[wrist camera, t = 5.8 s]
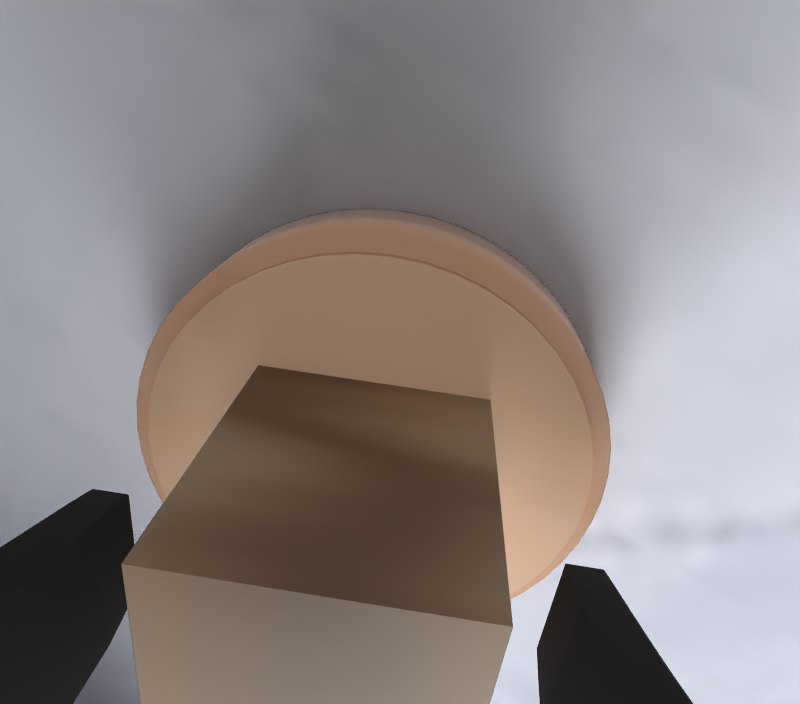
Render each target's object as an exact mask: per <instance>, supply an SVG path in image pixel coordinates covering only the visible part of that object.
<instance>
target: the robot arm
mask: <svg viewBox="0 0 800 704" xmlns="http://www.w3.org/2000/svg"><path fill="white" fill-rule="evenodd" d="M133 546H134V537H133V529H132V520H131V512H130V504H129V495H127V494H121V493H115V492H108V491H102V490H96V489H92V490H90V491H89V492H87V493H85V494H84V495H82V496H80V497H79V498H77V499H75V500H74V501H72V502H71V503H69V504H67V505H66V506H64V507H63V508H61V509H59V510H58V511H56V512H55V513H53V514H52V515H50V516H49V517H47V518H45V519H44V520H42V521H41V522H39V523H38V524H36V525H35V526H33V527H31V528H30V529H28V530H27V531H25V532H24V533H22V534H21V535H19V536H17V537H16V538H14V539H13V540H11V541H10V542H8V543H6V544H5V545H3V546H2V547H0V704H73V702H74V701H75V699H76V698H77V696H78V695H79V693H80V691H81V690H82V688H83V687H84V685H85V683H86V682H87V680H88V679H89V677H90V675H91V674H92V672H93V671H94V669H95V667H96V666H97V664H98V663H99V661H100V659H101V658H102V656H103V654H104V653H105V651H106V650H107V648H108V646H109V645H110V643H111V641H112V639H113V637H114V635H115V633H116V631H117V629H118V627H119V625H120V623H121V621H122V619H123V617H124V614H125V612H126V610H127V602H126V594H125V587H124V580H123V572H122V565H121V564H122V562H123V561H124V560H125V558H126V557H127V555H128V554H129V552H130V551H131V549H132V548H133ZM537 660H538V681H539V697H540V704H693V703H692V701H691V700H690V699H689V697H688V696H687V694H686V693H685V691H684V690H683V689H682V687H681V686H680V684H679V683H678V681H677V680H676V679H675V677H674V676H673V674H672V673H671V671H670V670H669V668H668V667H667V665H666V664H665V662H664V661H663V659H662V658H661V656H660V655H659V653H658V652H657V650H656V649H655V647H654V646H653V644H652V643H651V641H650V640H649V638H648V637H647V635H646V634H645V632H644V631H643V629H642V628H641V626H640V625H639V623H638V621H637V620H636V618H635V617H634V615H633V614H632V612H631V611H630V609H629V607H628V606H627V604H626V603H625V601H624V600H623V598H622V597H621V595H620V593H619V592H618V590H617V589H616V587H615V586H614V584H613V583H612V581H611V580H610V578H609V577H608V575H607V574H606V572H605V571H604V570H602V569H596V568H590V567H583V566H577V565H571V564H565V567H564V570H563V573H562V576H561V579H560V582H559V585H558V587H557V590H556V593H555V596H554V599H553V602H552V605H551V608H550V611H549V614H548V617H547V620H546V623H545V626H544V629H543V632H542V635H541V638H540V641H539V644H538V647H537Z"/></svg>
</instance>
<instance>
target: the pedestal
mask: <svg viewBox="0 0 800 704" xmlns="http://www.w3.org/2000/svg"><path fill="white" fill-rule="evenodd" d="M258 365H261V366H268V367H275V368H281V369H288V370H295V371H301V372H308V373H315V374H321V375H328V376H335V377H342V378H348V379H355V380H362V381H368V382H375V383H382V384H388V385H395V386H402V387H408V388H415V389H422V390H429V391H435V392H442V393H449V394H455V395H462V396H469V397H475V398H482V399H489V400H491V410H492V420H493V430H494V440H495V450H496V461H497V471H498V481H499V491H500V501H501V511H502V522H503V532H504V542H505V552H506V562H507V572H508V583H509V593H510V599H512V598H514V597H516V596H518V595H520V594H522V593H523V592H525V591H526V590H528V589H529V588H530V587H532V586H533V585H535V584H536V583H538V582H539V581H541V580H542V579H544V578H545V577H546V576H547V575H548V574H549V573H550V572H551V571H553V570H554V569H555V568H556V567H557V566H558V565H559V564H561V563H562V561H563V560H564V559H565V558H566V557H567V556H568V555H569V553H570V552H571V551H572V550H573V549H574V548H575V546H576V545H577V544H578V543H579V541H580V540H581V538H582V536H583V535H584V533H585V532H586V530H587V529H588V527H589V526H590V524H591V522H592V520H593V518H594V516H595V513H596V511H597V509H598V507H599V504H600V502H601V500H602V496H603V493H604V489H605V485H606V481H607V478H608V473H609V463H610V452H611V441H610V427H609V418H608V414H607V409H606V405H605V401H604V397H603V392H602V390H601V388H600V385H599V383H598V380H597V378H596V375H595V373H594V371H593V368H592V366H591V363H590V361H589V359H588V357H587V355H586V352H585V350H584V348H583V346H582V344H581V341H580V339H579V337H578V335H577V333H576V330H575V328H574V327H573V325H572V323H571V322H570V320H569V318H568V317H567V315H566V313H565V312H564V310H563V308H562V307H561V305H560V304H559V302H558V301H557V300H556V299H555V297H554V296H553V295H552V294H551V293H550V291H549V290H548V289H547V288H546V287H545V285H544V284H543V283H542V282H541V281H540V280H539V279H538V278H537V277H536V276H535V275H534V274H533V273H532V272H530V271H529V270H528V269H527V268H526V267H525V266H524V265H523V264H522V263H521V262H519V261H518V260H517V259H515V258H514V257H512V256H511V255H510V254H508V253H507V252H505V251H504V250H502V249H501V248H499V247H498V246H496V245H495V244H494V243H492V242H490V241H488V240H486V239H484V238H482V237H480V236H478V235H476V234H474V233H472V232H470V231H468V230H466V229H464V228H461V227H458V226H455V225H453V224H450V223H447V222H444V221H441V220H438V219H435V218H432V217H427V216H422V215H417V214H413V213H408V212H403V211H392V210H378V209H359V210H342V211H334V212H329V213H324V214H319V215H314V216H309V217H305V218H302V219H299V220H297V221H294V222H291V223H288V224H285V225H282V226H279V227H277V228H275V229H273V230H271V231H269V232H268V233H266V234H264V235H262V236H260V237H258V238H256V239H254V240H252V241H251V242H250V243H248V244H247V245H245V246H244V247H243V248H241V249H240V250H239V251H237V252H236V253H234V254H233V255H232V256H230V257H229V258H228V259H227V260H225V261H224V262H223V263H222V264H220V265H219V266H218V267H216V268H215V269H214V270H213V271H211V272H210V273H209V274H208V275H206V276H205V277H204V278H203V279H201V280H200V281H199V282H198V283H197V284H196V285H195V286H194V287H193V288H192V289H191V290H190V291H189V292H188V293H187V294H186V295H185V296H184V297H183V298H182V299H181V300H180V301H179V302H178V303H177V304H176V305H175V306H174V308H173V309H172V311H171V312H170V313H169V315H168V316H167V317H166V319H165V320H164V322H163V323H162V324H161V326H160V327H159V329H158V332H157V334H156V336H155V338H154V340H153V342H152V344H151V346H150V348H149V350H148V352H147V356H146V359H145V362H144V365H143V369H142V372H141V375H140V382H139V389H138V397H137V428H138V433H139V439H140V445H141V450H142V454H143V457H144V460H145V463H146V466H147V470H148V473H149V476H150V478H151V480H152V482H153V484H154V486H155V488H156V490H157V492H158V495H159V497H160V499H161V500H162V502H163V503H164V501H165V500H166V498H167V497H168V496H169V494H170V493H171V491H172V490H173V488H174V487H175V485H176V484H177V482H178V481H179V480H180V478H181V477H182V475H183V474H184V472H185V471H186V469H187V468H188V466H189V465H190V464H191V462H192V461H193V459H194V458H195V456H196V455H197V453H198V452H199V451H200V449H201V448H202V446H203V445H204V443H205V442H206V440H207V439H208V437H209V436H210V435H211V433H212V432H213V430H214V429H215V427H216V426H217V424H218V423H219V421H220V420H221V419H222V417H223V416H224V414H225V413H226V411H227V410H228V408H229V407H230V405H231V404H232V403H233V401H234V400H235V398H236V397H237V395H238V394H239V392H240V391H241V389H242V388H243V387H244V385H245V384H246V382H247V381H248V379H249V378H250V376H251V375H252V373H253V372H254V371H255V369H256V368H257V366H258Z"/></svg>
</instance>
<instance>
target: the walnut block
mask: <svg viewBox="0 0 800 704" xmlns="http://www.w3.org/2000/svg"><path fill="white" fill-rule="evenodd" d="M121 565H122V572H123V580H124V587H125V594H126V602H127V609H128V616H129V623H130V631H131V638H132V645H133V653H134V660H135V667H136V675H137V682H138V689H139V697H140V704H490V701H491V698H492V694H493V691H494V688H495V684H496V681H497V678H498V674H499V671H500V668H501V665H502V661H503V658H504V655H505V651H506V648H507V645H508V641H509V638H510V635H511V631H512V628H513V623H512V613H511V603H510V593H509V583H508V572H507V562H506V552H505V542H504V532H503V522H502V511H501V501H500V491H499V481H498V471H497V461H496V450H495V440H494V430H493V420H492V410H491V400H489V399H482V398H475V397H469V396H462V395H455V394H449V393H442V392H435V391H429V390H422V389H415V388H408V387H402V386H395V385H388V384H382V383H375V382H368V381H362V380H355V379H348V378H342V377H335V376H328V375H321V374H315V373H308V372H301V371H295V370H288V369H281V368H275V367H268V366H261V365H258V366H257V368H256V369H255V371H254V372H253V373H252V375H251V376H250V378H249V379H248V381H247V382H246V384H245V385H244V387H243V388H242V389H241V391H240V392H239V394H238V395H237V397H236V398H235V400H234V401H233V403H232V404H231V405H230V407H229V408H228V410H227V411H226V413H225V414H224V416H223V417H222V419H221V420H220V421H219V423H218V424H217V426H216V427H215V429H214V430H213V432H212V433H211V435H210V436H209V437H208V439H207V440H206V442H205V443H204V445H203V446H202V448H201V449H200V451H199V452H198V453H197V455H196V456H195V458H194V459H193V461H192V462H191V464H190V465H189V466H188V468H187V469H186V471H185V472H184V474H183V475H182V477H181V478H180V480H179V481H178V482H177V484H176V485H175V487H174V488H173V490H172V491H171V493H170V494H169V496H168V497H167V498H166V500H165V501H164V503H163V504H162V506H161V507H160V509H159V510H158V512H157V513H156V514H155V516H154V517H153V519H152V520H151V522H150V523H149V525H148V526H147V528H146V529H145V530H144V532H143V533H142V535H141V536H140V538H139V539H138V541H137V542H136V544H135V545H134V546H133V548H132V549H131V551H130V552H129V554H128V555H127V557H126V558H125V560H124V561H123V562H122V564H121Z"/></svg>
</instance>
